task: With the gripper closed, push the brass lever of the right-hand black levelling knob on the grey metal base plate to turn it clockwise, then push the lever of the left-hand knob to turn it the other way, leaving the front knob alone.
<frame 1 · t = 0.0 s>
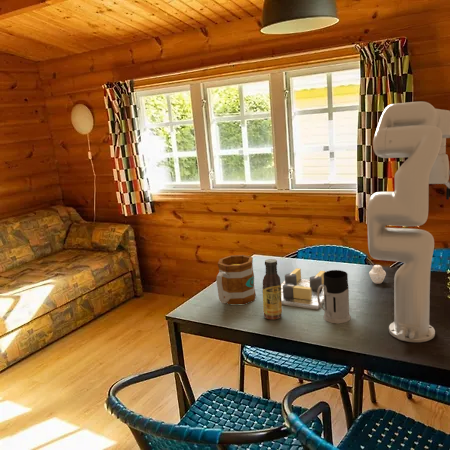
hand: (432, 198, 164), 31 cm above the table, tool pointing down, fingers open, 9 cm apart
knob left: (293, 277, 176), point 4 cm above the table, hinge at 0.0°
sauce bottle: (273, 317, 153), on the table
knob right: (318, 280, 171), point 4 cm above the table, hinge at 0.0°
knob front: (296, 291, 162), point 4 cm above the table, hinge at 0.0°
white carved ornament: (377, 282, 174), on the table
glass holder: (332, 320, 146), on the table
base plate: (301, 294, 169), on the table
mug: (234, 301, 168), on the table
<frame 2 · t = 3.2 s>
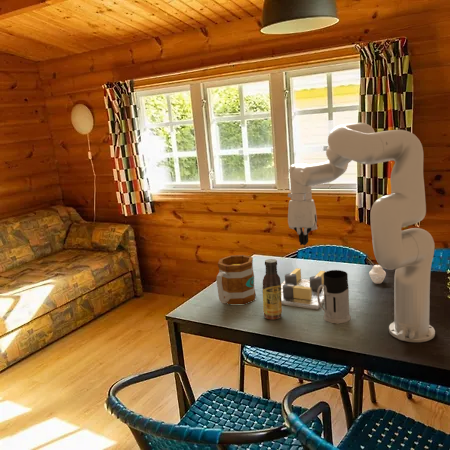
hand: (303, 243, 172), 17 cm above the table, tool pointing down, fingers closed
nothing on the table moved.
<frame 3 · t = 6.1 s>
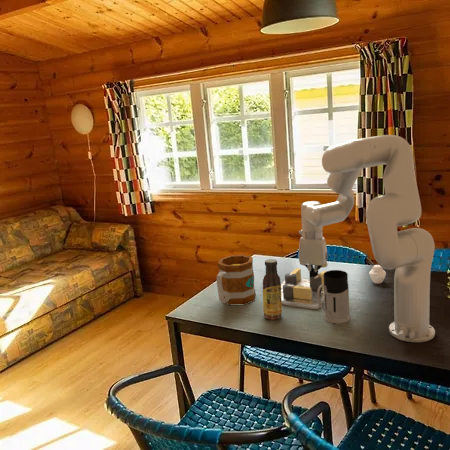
hand: (314, 279, 174), 3 cm above the table, tool pointing down, fingers closed
knob right: (319, 280, 171), point 4 cm above the table, hinge at -7.9°, touching gripper
everything else where it was.
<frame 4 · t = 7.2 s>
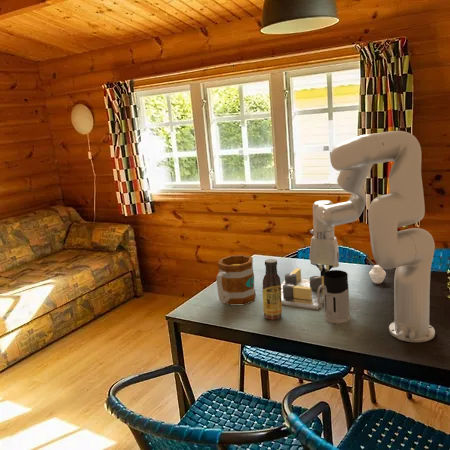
hand: (325, 280, 172), 3 cm above the table, tool pointing down, fingers closed
knob right: (323, 281, 169), point 4 cm above the table, hinge at -50.8°, touching gripper
everything else where it was.
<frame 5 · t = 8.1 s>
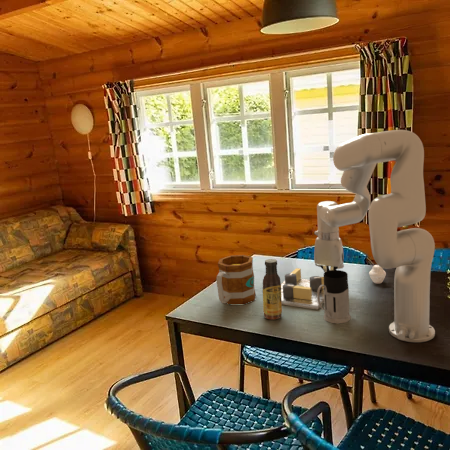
hand: (329, 281, 171), 3 cm above the table, tool pointing down, fingers closed
knob right: (323, 282, 168), point 4 cm above the table, hinge at -61.8°, touching gripper
everything else where it was.
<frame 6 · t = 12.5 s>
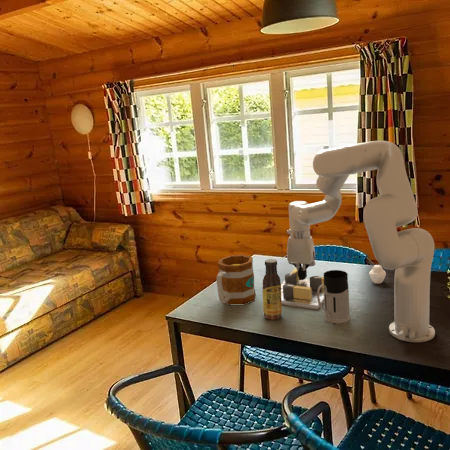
hand: (302, 278, 177), 3 cm above the table, tool pointing down, fingers closed
knob left: (293, 277, 176), point 4 cm above the table, hinge at 4.1°, touching gripper
knob right: (323, 282, 168), point 4 cm above the table, hinge at -62.2°
everything else where it was.
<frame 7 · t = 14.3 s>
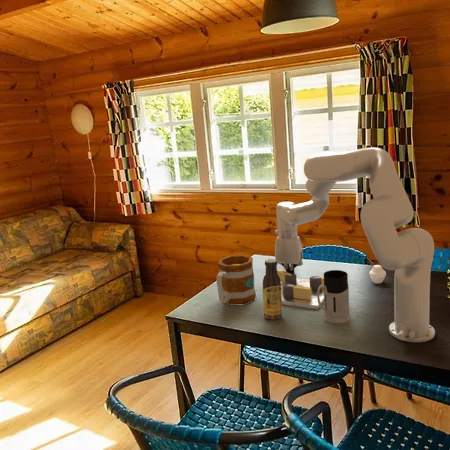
hand: (290, 278, 179), 2 cm above the table, tool pointing down, fingers closed
knob left: (286, 277, 176), point 4 cm above the table, hinge at 57.0°, touching gripper
everything else where it was.
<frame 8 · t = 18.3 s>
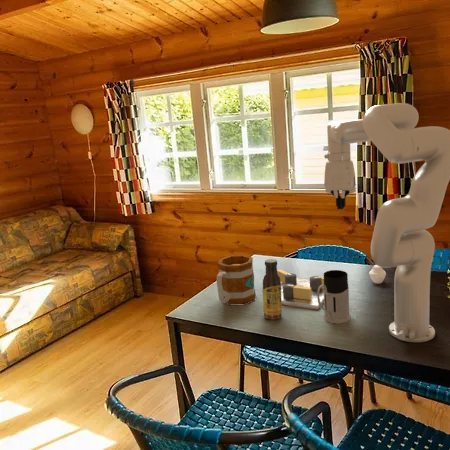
hand: (340, 208, 163), 31 cm above the table, tool pointing down, fingers closed
knob left: (286, 277, 176), point 4 cm above the table, hinge at 57.3°
everything else where it was.
at the end: knob right at -62° (first picture: +0°); knob left at +57° (first picture: +0°) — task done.
